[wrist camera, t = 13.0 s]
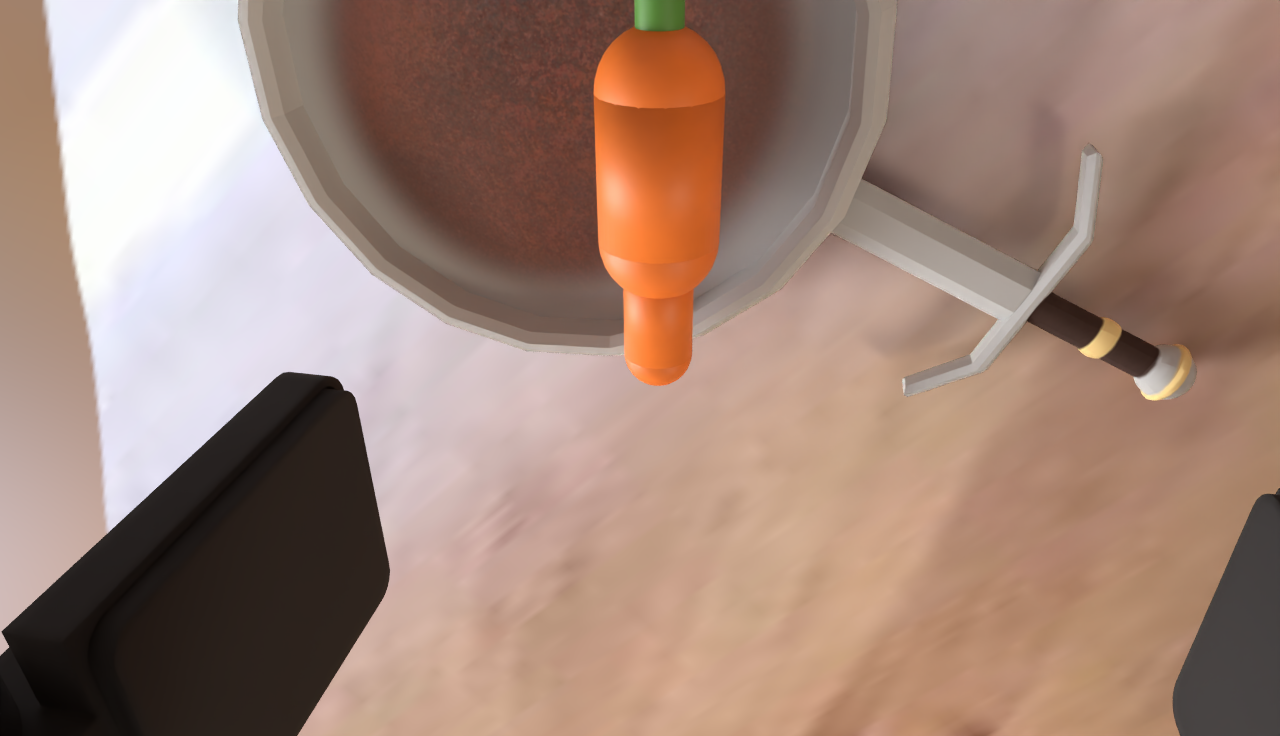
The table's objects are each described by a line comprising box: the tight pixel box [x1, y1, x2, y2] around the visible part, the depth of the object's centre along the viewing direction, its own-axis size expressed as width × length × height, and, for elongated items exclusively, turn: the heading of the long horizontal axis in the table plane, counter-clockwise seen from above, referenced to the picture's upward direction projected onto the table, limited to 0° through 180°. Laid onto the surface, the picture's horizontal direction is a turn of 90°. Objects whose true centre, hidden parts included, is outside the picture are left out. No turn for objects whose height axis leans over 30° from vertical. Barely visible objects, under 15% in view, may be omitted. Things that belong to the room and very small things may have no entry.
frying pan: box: [238, 0, 1197, 401], centre depth 24 cm, size 17×3×28 cm
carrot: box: [594, 0, 725, 386], centre depth 22 cm, size 10×3×3 cm
